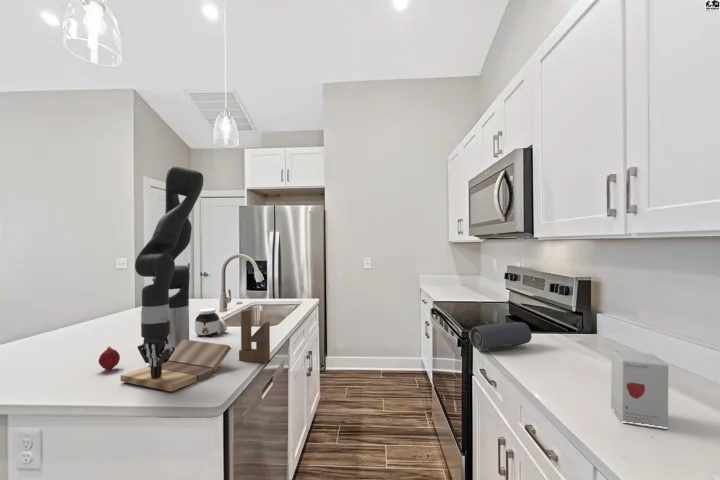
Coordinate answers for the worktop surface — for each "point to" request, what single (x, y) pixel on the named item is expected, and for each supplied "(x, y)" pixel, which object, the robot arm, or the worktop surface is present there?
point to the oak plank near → (159, 379)
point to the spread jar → (209, 323)
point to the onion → (109, 358)
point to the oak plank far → (199, 353)
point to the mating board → (189, 370)
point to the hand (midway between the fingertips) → (156, 377)
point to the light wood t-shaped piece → (254, 340)
